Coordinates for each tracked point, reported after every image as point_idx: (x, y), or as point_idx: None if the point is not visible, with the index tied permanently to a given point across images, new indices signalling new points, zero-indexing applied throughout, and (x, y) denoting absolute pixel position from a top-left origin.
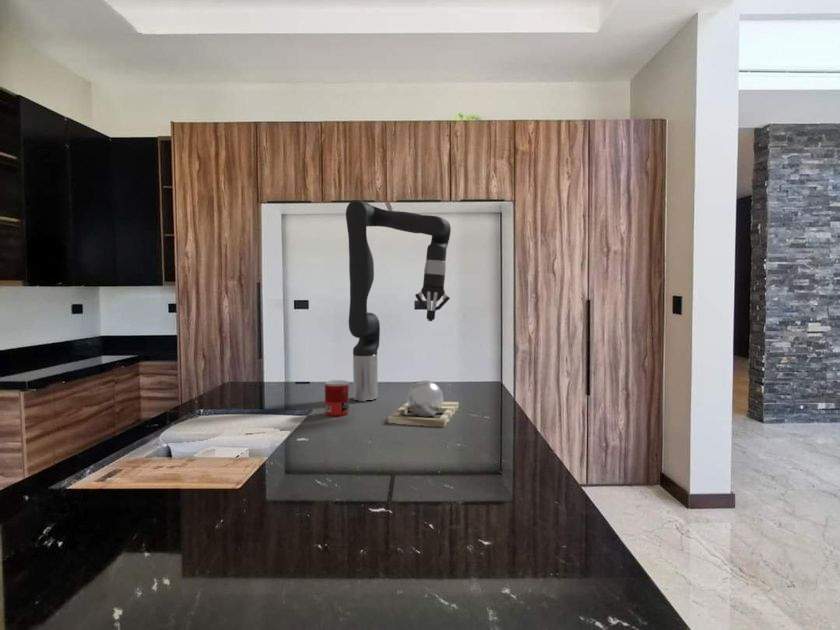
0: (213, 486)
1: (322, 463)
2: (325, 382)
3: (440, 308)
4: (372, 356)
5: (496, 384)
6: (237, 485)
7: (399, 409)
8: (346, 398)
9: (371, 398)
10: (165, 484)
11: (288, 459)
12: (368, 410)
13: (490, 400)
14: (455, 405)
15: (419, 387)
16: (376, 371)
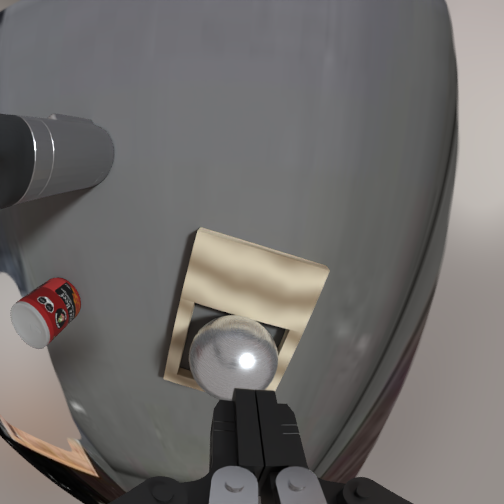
0: (81, 470)
1: (132, 465)
2: (12, 323)
3: (371, 490)
4: (27, 192)
5: (449, 19)
6: (94, 474)
7: (176, 330)
8: (64, 325)
9: (99, 181)
10: (52, 456)
11: (98, 450)
12: (109, 274)
13: (418, 193)
14: (313, 304)
15: (215, 397)
16: (70, 166)
